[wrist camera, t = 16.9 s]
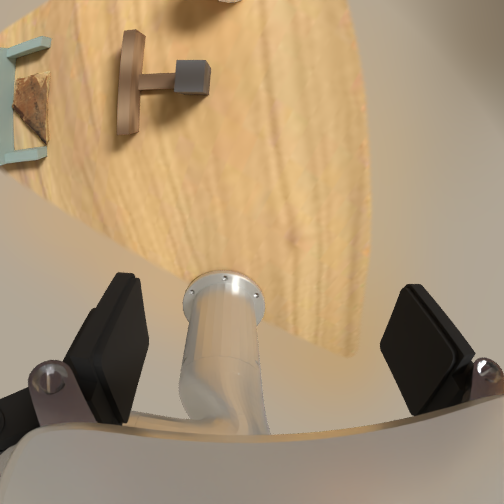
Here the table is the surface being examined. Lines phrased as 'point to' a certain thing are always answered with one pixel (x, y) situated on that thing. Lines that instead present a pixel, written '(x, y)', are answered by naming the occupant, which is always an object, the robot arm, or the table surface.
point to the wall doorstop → (152, 80)
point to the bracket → (3, 75)
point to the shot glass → (229, 1)
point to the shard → (33, 102)
